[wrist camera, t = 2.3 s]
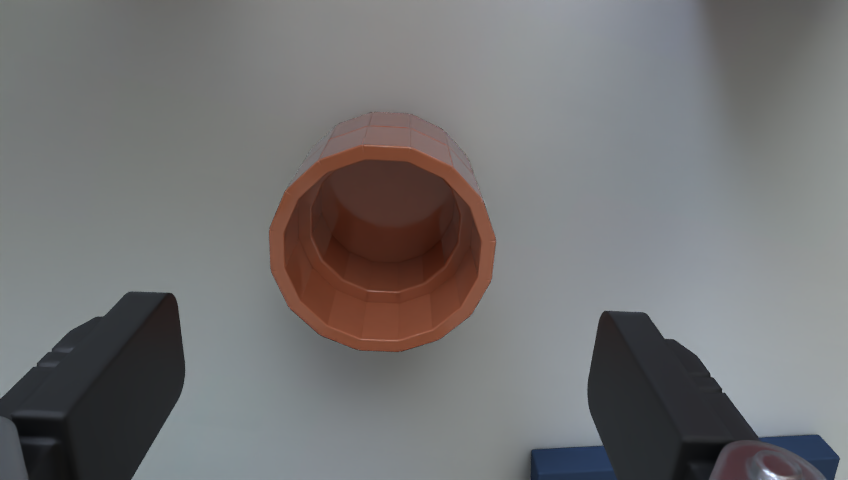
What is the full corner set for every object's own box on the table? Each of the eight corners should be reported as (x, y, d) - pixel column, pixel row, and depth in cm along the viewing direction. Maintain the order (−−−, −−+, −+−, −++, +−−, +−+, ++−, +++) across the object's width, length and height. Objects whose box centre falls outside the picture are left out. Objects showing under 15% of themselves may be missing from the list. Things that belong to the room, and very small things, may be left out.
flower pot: (302, 271, 22) (273, 347, 17) (299, 104, 19) (264, 139, 15) (467, 279, 22) (483, 355, 17) (483, 114, 20) (506, 152, 15)
